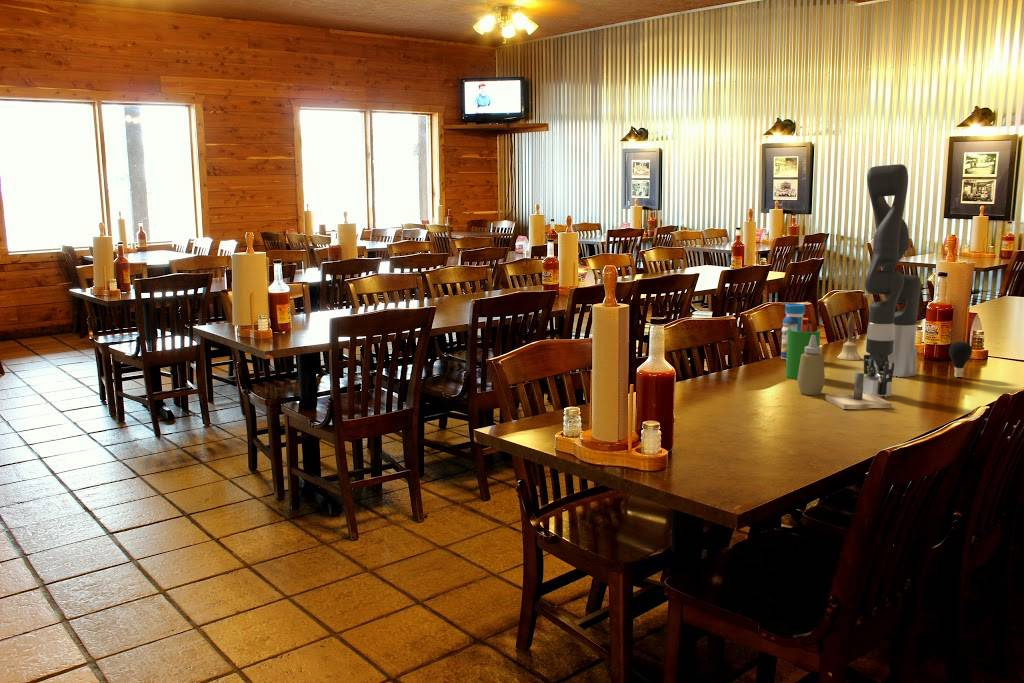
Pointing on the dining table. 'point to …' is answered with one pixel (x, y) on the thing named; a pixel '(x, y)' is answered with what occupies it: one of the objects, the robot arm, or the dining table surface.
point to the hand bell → (850, 343)
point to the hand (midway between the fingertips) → (876, 392)
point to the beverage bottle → (791, 323)
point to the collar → (875, 386)
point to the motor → (798, 347)
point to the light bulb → (960, 356)
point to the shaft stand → (858, 397)
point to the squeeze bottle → (811, 369)
